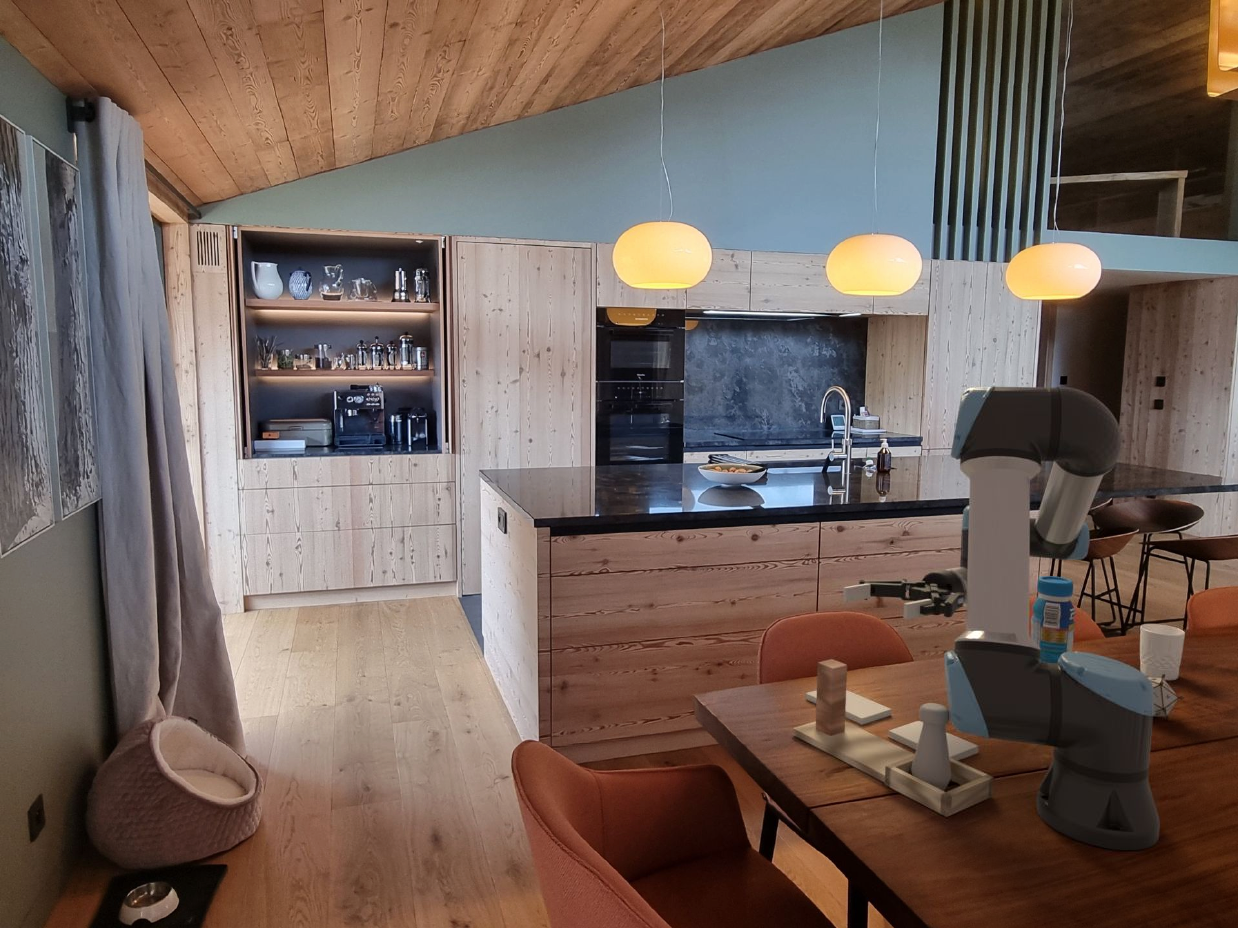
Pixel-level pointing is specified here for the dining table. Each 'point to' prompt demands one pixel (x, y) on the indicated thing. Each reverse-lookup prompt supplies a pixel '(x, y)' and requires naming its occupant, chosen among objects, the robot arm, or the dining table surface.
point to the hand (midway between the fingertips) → (873, 602)
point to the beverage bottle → (1053, 618)
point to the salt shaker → (933, 747)
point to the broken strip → (907, 734)
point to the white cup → (1160, 650)
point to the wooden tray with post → (883, 750)
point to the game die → (1163, 697)
